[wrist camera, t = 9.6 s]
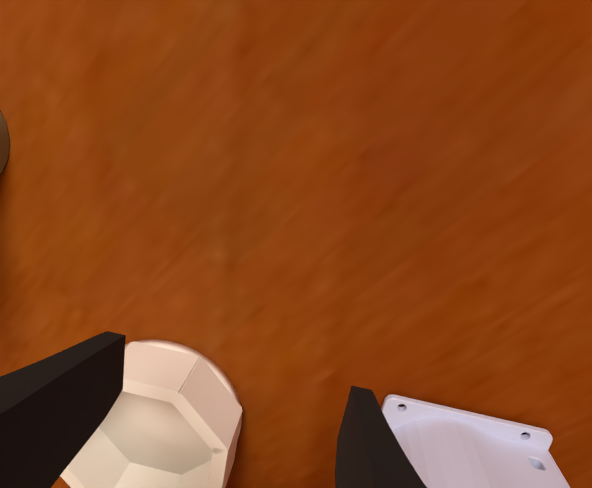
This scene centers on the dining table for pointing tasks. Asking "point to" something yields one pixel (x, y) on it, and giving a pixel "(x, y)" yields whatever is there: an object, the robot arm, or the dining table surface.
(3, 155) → the olive brown shaker
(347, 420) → the robot arm
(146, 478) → the bowl
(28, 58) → the dining table surface
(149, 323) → the dining table surface
